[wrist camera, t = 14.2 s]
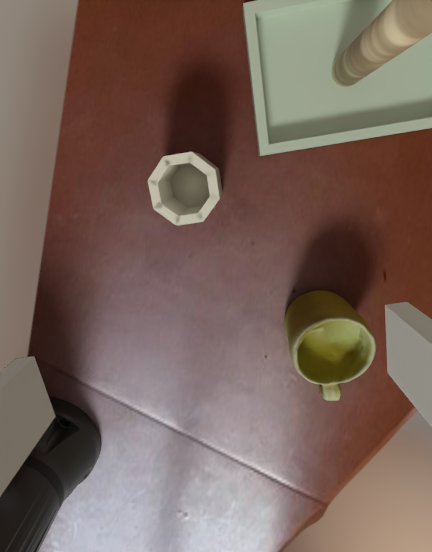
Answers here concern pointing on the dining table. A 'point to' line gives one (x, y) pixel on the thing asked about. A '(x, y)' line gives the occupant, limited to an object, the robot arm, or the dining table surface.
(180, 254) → the dining table surface
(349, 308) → the mug
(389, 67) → the tray
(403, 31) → the dowel
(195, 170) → the crock
